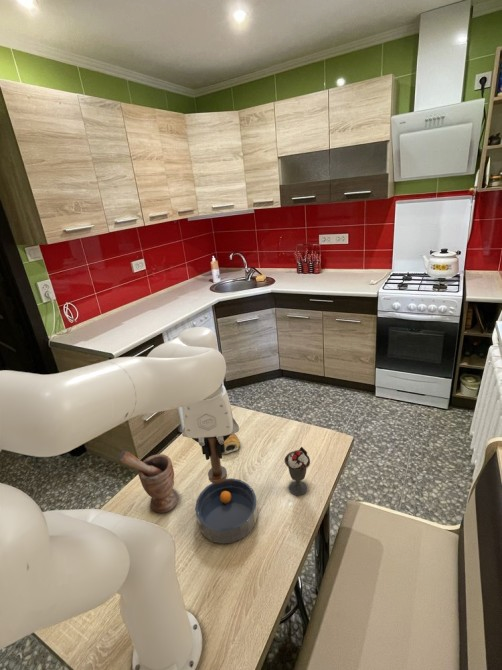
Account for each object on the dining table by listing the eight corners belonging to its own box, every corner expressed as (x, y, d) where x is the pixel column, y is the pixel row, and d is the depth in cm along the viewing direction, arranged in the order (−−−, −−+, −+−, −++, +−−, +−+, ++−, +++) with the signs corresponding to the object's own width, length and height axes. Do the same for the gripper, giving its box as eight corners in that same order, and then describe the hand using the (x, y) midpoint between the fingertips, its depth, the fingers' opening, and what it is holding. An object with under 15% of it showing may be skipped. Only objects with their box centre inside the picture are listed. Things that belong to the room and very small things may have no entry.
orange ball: (231, 505, 91) (228, 500, 89) (220, 505, 92) (217, 499, 90) (233, 494, 93) (230, 489, 91) (223, 493, 94) (220, 488, 92)
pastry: (215, 437, 116) (214, 428, 115) (235, 432, 118) (234, 423, 116) (221, 456, 108) (219, 446, 106) (242, 450, 109) (241, 441, 108)
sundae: (290, 501, 91) (288, 457, 85) (283, 481, 97) (280, 439, 91) (314, 495, 92) (313, 452, 86) (305, 476, 98) (304, 434, 92)
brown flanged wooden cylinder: (226, 482, 79) (220, 441, 75) (207, 484, 79) (200, 442, 75) (227, 468, 83) (221, 428, 79) (209, 470, 83) (202, 429, 79)
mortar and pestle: (145, 529, 87) (127, 470, 79) (132, 507, 93) (114, 450, 85) (185, 502, 93) (172, 445, 85) (170, 483, 100) (157, 428, 91)
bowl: (258, 542, 81) (257, 528, 79) (194, 547, 82) (191, 533, 80) (256, 489, 95) (255, 476, 93) (201, 494, 95) (199, 480, 93)
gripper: (161, 399, 68) (176, 470, 75) (242, 392, 68) (250, 464, 75) (168, 379, 75) (182, 446, 82) (242, 373, 75) (249, 440, 82)
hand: (214, 454), depth 79 cm, fingers closed on brown flanged wooden cylinder, 2 cm apart
